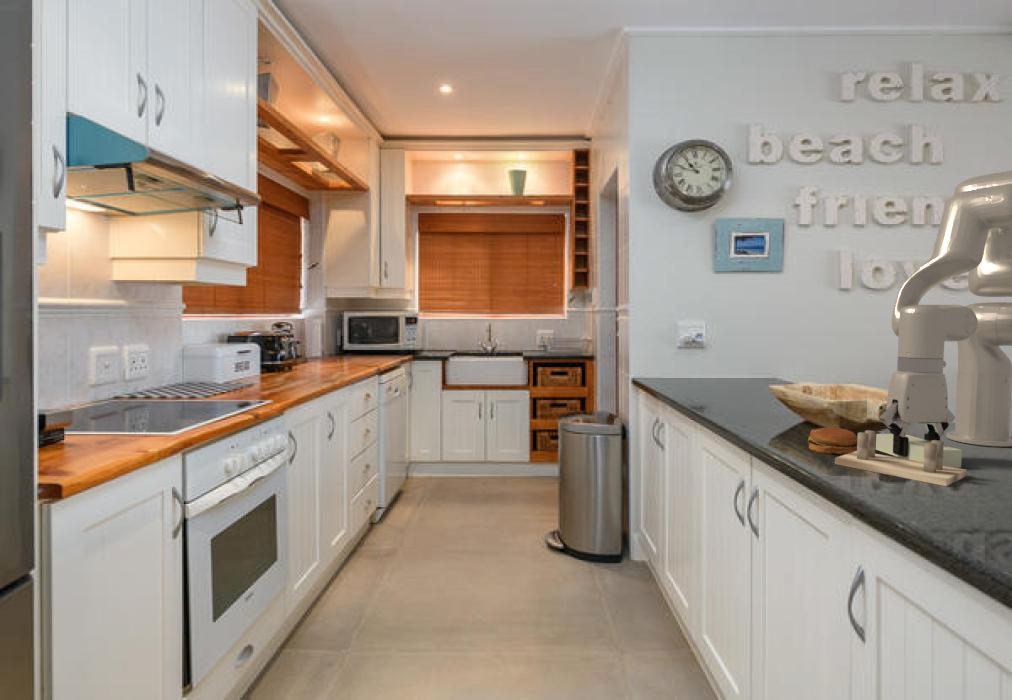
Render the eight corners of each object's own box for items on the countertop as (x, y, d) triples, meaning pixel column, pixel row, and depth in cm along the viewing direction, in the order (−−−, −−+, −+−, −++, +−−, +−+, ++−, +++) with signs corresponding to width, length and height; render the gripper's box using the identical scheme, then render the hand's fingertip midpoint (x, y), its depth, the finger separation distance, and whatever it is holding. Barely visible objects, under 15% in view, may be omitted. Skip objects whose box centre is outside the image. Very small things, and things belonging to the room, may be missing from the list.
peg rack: (857, 456, 117) (858, 426, 117) (966, 476, 102) (967, 442, 102) (834, 463, 111) (835, 432, 111) (946, 486, 97) (947, 450, 96)
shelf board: (902, 449, 123) (903, 433, 123) (960, 468, 109) (961, 450, 108) (875, 449, 123) (876, 433, 123) (930, 468, 108) (931, 450, 108)
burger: (868, 456, 118) (869, 433, 118) (824, 456, 118) (824, 434, 118) (840, 445, 128) (841, 424, 127) (799, 445, 128) (799, 425, 127)
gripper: (943, 364, 119) (939, 449, 120) (866, 365, 118) (862, 451, 119) (976, 368, 112) (971, 458, 113) (894, 368, 110) (890, 460, 111)
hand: (915, 453), depth 116 cm, fingers closed on shelf board, 6 cm apart
